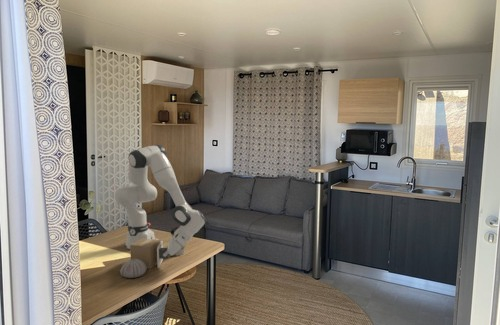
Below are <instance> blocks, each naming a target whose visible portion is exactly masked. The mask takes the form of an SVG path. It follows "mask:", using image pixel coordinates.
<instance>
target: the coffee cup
mask: <svg viewBox="0 0 500 325" xmlns="http://www.w3.org/2000/svg"><path fill="white" fill-rule="evenodd" d="M179 227H180V226H178V227H173V228H171V231H170V234H171V235H170V236H171V238H172V237H173V236H174V235H175V234H174V232H175V231H176V230H177V229H178V228H179ZM186 245H187V244H186ZM186 245H185V246H184V247H183V246H182V248H181V249H180V250H178V251H177V252H176V253H175V254H174V255H175V256H183V255H185V252H186Z"/></svg>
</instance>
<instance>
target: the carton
mask: <svg viewBox="0 0 500 325" xmlns="http://www.w3.org/2000/svg"><path fill="white" fill-rule="evenodd" d="M161 241H162V240H161V239H158V240H155V239H144V238H142V239H140V240H138V241H136V242H135V243H133V244H131V245H130V249H129V252H130V259H139V260H141V261H142V262H144V263H145V265H146V267H147V269H152V268H153V267H154V266H156V265H157V247H158V245H159V244H160V242H161Z"/></svg>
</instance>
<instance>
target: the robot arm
mask: <svg viewBox="0 0 500 325" xmlns="http://www.w3.org/2000/svg"><path fill="white" fill-rule="evenodd" d="M128 163H129V164H128V175H127V178H128V180H129V182H130V183H132V184H133V185H131V186H128V185H127V186H121V187H120V188H117V189H116V190H115V193H114V199H115V202H116V203H117V204H119V205H121V207H123V208H124V209H125V211H126V214H127V222H128V223H127V224H128V225H127V232H126V242H125V243H124V245H125V246H126V249H127V250H130V245H131V244H133V243H135V242H136V241H138V240H140V239H142V238H144V239H155V240H159V238H157V237H156V236H155V232H154V231H153V230H151V229H150V228H149V227H150V226H151V223H150V222H147V220H148V219H147V212H146V211H145V209H143V208H140V207H137V204H141V203H142V204H143V203H149V202H152V201H155V200H156V199H157V197H158V189H157V188H156V187H155V185H153V184H151V183H150V181H149V180H148V173H149V172H148V171H149V169H148V168H150V170H151V172H152V175H153V178H154V180H155V181H156V183H157V184H158V185H159V187H161V188H162V189H164V190H165V191H167V192H168V193H169V195H170V197H171V199H172V200H173V201H172V202H173V203H174V205H175V207H173V209H171V218H172V220H173V221H174V222H176V223H177V224H178V225H180V226H178V227H179V228H178V229H177V230H176V231H175V232H174V234H175V235H174V236H173V237H172V236H171V238H170V239H169V240H168V245H167V246H166V248H168V249H167V251H166V252H164V253H163V256H164V257H166V256H167V255H168V254H169V255H170V256H174V255H175V253H176V252H177V251H178V250H180V249H181V248H182V246H183V247H184V246H185V245H187V243H188V242H189V241H190V240H191V239H192V238H193V236H194V235H195V234H196V233H198V232H200V230H201V229H202V227H203V226H204V225H205V223H206V218H205V216H204V214H203V212H201V211H200V210H197V209H193V208H194V207H192V206H191V205H190V204H189V203H188V202H187V201H186V199H185V197H184V194H183V192H182V190H181V188H180V186H179V183H178V180H177V177H176V174H175V170H174V168H173V166H172V164H171V162H170V161H169V159H168V157H167V152H166V149H165V147H164V146H163V145H161V144H154V145H149V146H148V145H147V146H144V147H141V148H138V149H134V150H132V151H131V152H129V153H128Z"/></svg>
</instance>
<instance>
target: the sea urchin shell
mask: <svg viewBox="0 0 500 325" xmlns="http://www.w3.org/2000/svg"><path fill="white" fill-rule="evenodd" d="M147 270H148V268H147V267H146V265H145V263H144V262H142V261H141V260H139V259H131V258H130V259H128V260H127V261H125V262H124V263H123V264H122V266H121V268H120V270H119V273H120V275H121V276H122V277H124V278H125V279H127V278H128V279H133V278H134V279H135V278H136V279H137V278H139V277H141V276H144V275H145V273H146V272H147Z"/></svg>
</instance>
